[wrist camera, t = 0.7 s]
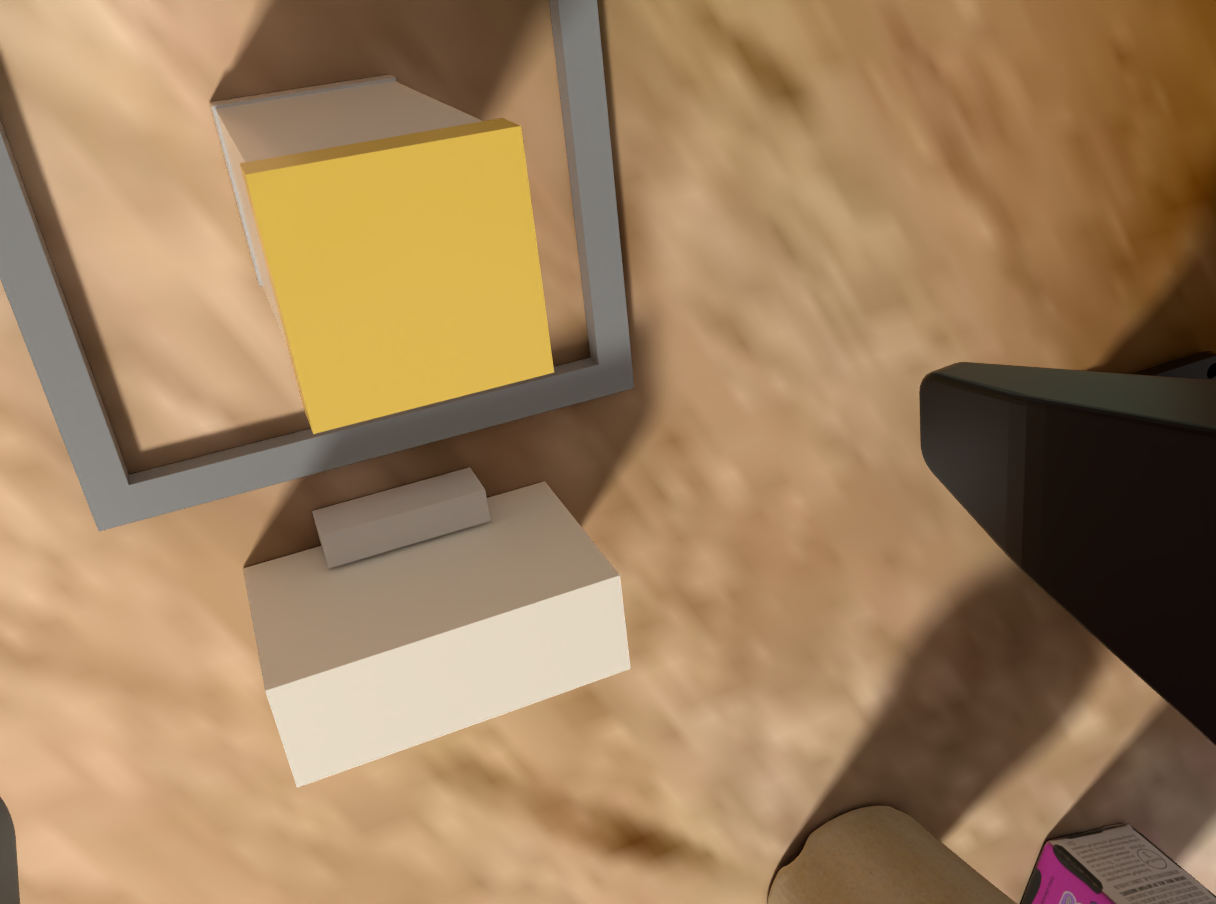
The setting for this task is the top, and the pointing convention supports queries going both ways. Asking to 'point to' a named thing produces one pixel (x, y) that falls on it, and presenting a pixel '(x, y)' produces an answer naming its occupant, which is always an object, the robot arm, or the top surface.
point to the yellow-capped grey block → (388, 244)
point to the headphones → (390, 504)
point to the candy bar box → (1110, 872)
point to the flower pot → (879, 865)
